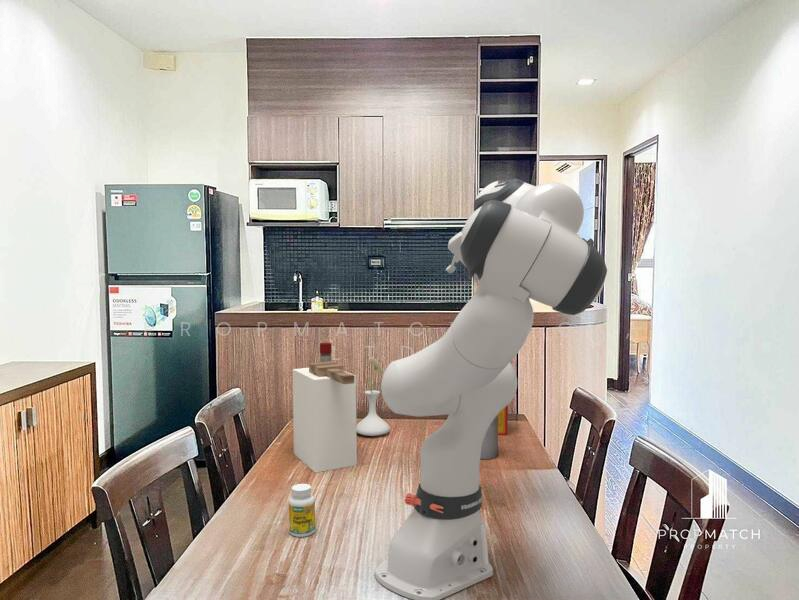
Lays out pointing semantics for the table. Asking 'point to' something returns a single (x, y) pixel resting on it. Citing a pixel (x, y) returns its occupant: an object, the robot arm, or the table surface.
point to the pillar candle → (490, 441)
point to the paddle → (331, 372)
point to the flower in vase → (373, 410)
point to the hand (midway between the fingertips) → (461, 284)
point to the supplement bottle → (301, 511)
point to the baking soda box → (503, 421)
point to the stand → (324, 421)
